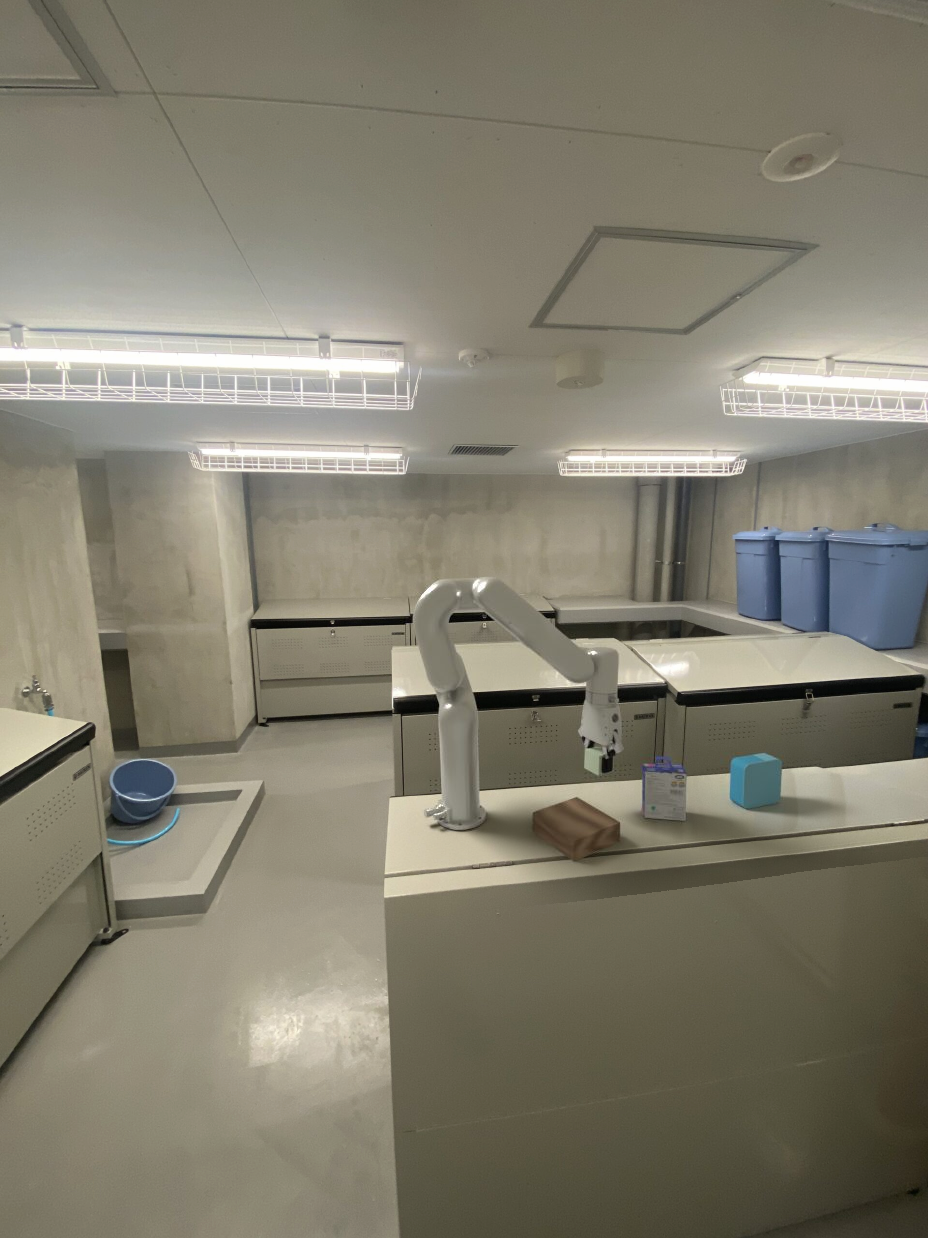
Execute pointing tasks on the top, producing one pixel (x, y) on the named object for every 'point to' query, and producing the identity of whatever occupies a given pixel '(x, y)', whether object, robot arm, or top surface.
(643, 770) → the ink cartridge box
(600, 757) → the sage cube
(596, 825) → the walnut block
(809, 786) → the top surface
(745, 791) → the blue rounded block
